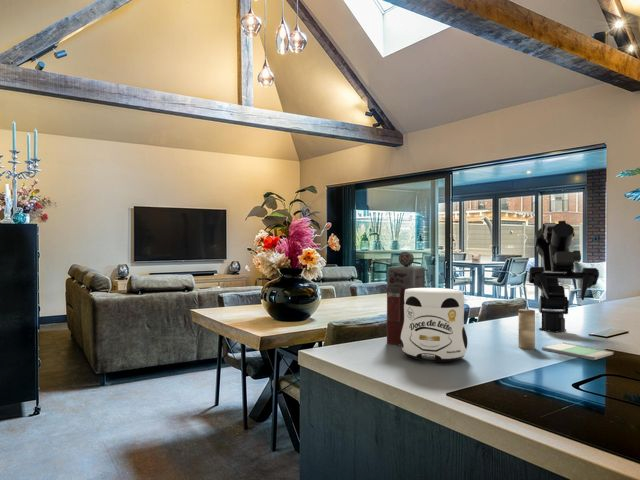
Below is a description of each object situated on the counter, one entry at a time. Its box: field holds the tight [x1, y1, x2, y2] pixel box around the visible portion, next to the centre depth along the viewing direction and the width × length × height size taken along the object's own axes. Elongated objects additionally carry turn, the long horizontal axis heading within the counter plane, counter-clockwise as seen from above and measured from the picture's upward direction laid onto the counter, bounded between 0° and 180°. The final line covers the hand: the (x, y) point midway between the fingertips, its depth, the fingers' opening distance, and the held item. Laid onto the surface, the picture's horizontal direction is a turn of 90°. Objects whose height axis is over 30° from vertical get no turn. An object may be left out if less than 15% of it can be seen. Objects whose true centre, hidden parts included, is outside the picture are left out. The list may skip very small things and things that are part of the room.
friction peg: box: [518, 308, 536, 350], centre depth 134 cm, size 4×4×11 cm
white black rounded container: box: [400, 287, 468, 363], centre depth 122 cm, size 17×17×18 cm
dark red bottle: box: [386, 251, 426, 346], centre depth 140 cm, size 9×11×28 cm
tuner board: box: [541, 341, 615, 361], centre depth 129 cm, size 14×12×1 cm
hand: (565, 298), depth 136 cm, fingers open, 9 cm apart
